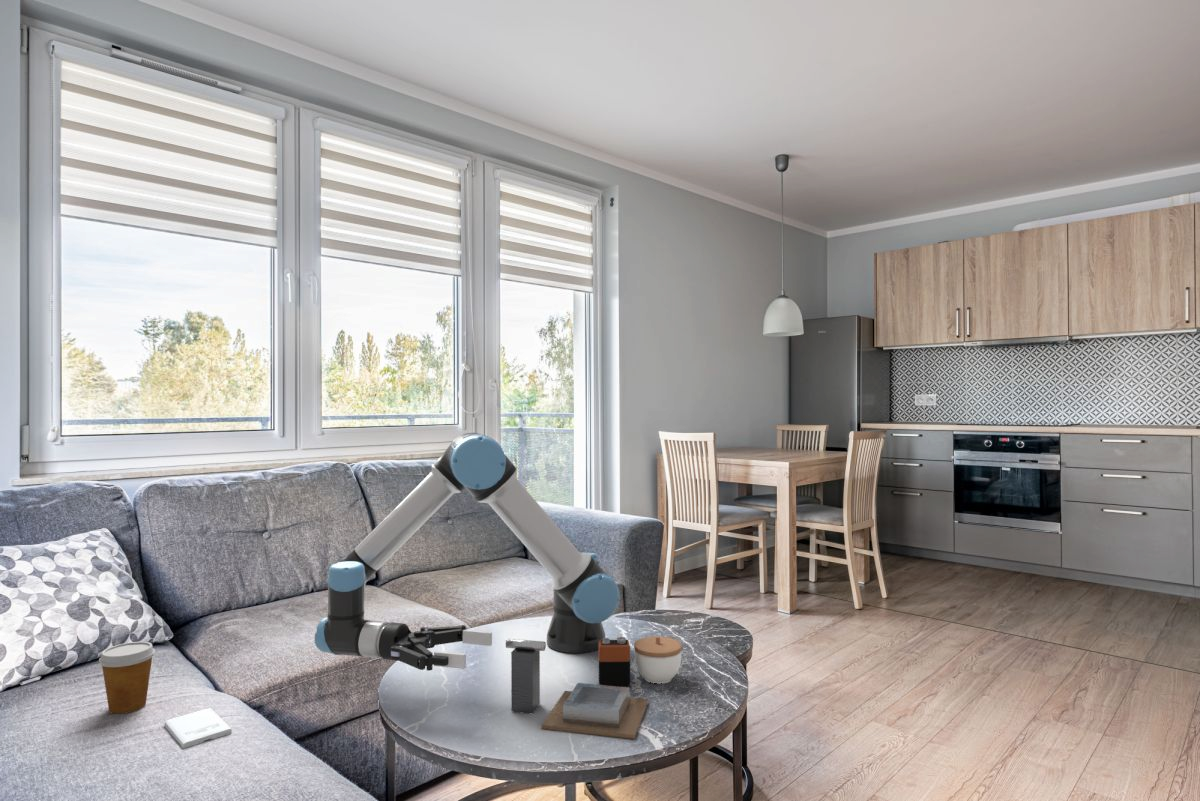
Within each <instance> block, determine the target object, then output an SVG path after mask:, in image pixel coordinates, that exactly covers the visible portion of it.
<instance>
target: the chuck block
mask: <svg viewBox="0 0 1200 801" xmlns="http://www.w3.org/2000/svg"><path fill="white" fill-rule="evenodd" d="M630 690H631V689H630V687H617V686H606V685H599V684H596V683H594V684H593V683H583V682H577V683H576V684H575V687H574V688H573V689H572V691H571V690H564V692H563V693H562V694H561V696H560V697H559V699H558V700H557V702H555V705H554V706H553V707H552V709H551V710H550V712H549V713H548V715H547V716H546V718H545V719H544V721H543V722H542V724H541V730H548V731H549V730H550V731H557V732H566V733H576V734H583V735H584V734H586V735H592V734H593V736H601V737H602V736H604V737H612V738H619V739H620V738H621V739H629V740H635V739H636V736H637V733H638V732H639V728H640V726H641V723H642V721H643V719H642V718H644V716H645V713H646V710H647V708H648V706H649V700H650V699H649V698H642V697H632V696H630ZM647 705H648V706H647Z"/></svg>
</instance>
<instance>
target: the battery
mask: <svg viewBox="0 0 1200 801" xmlns="http://www.w3.org/2000/svg"><path fill="white" fill-rule="evenodd" d="M598 685H606V686H617V687H628V688H630V686H631V645H630V641H629V639H627V638H626V637H624V636H619V637H616V639H610V638H608V637H605V638H604V639H603V640H599V649H598Z"/></svg>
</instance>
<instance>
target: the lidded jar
mask: <svg viewBox="0 0 1200 801" xmlns="http://www.w3.org/2000/svg"><path fill="white" fill-rule="evenodd" d="M633 648H634V649H633V650H634V661H635V665H636V668H637V671H638V672H639V674H640V675H641V676H642V677H643V679H644V681H646V682H647V683H650V682H651V683H650V684H654V683H657V684H656V685H663V684H667V683H668V684H669V683H670V682H672V680H673V678H674V677H675V676H676V675H677V674H678V672H679V670H680V667H681V663H682V662H681V660H682V650H683V644H682V643H681V642H680V641H678V640H677V639H675V638H671V637H666V636H657V635H656V636H647V637H642V638H639V639H637V640H636V641H635V642H634V644H633ZM661 683H662V684H661Z"/></svg>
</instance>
